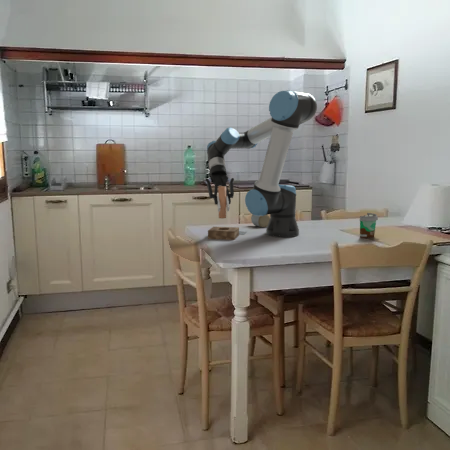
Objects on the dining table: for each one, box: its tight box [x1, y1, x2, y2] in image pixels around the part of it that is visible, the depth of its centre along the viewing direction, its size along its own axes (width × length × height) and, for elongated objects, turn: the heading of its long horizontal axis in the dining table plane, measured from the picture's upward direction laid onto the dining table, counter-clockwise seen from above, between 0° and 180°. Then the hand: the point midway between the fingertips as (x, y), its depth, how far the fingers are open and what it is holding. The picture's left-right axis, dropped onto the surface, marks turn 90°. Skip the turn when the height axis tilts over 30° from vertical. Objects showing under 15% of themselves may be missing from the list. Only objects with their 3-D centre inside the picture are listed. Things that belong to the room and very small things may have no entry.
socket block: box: [207, 226, 240, 241], centre depth 213 cm, size 12×10×4 cm
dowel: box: [218, 186, 227, 219], centre depth 211 cm, size 3×3×14 cm
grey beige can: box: [250, 214, 270, 228], centre depth 241 cm, size 11×8×8 cm
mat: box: [239, 230, 248, 236], centre depth 223 cm, size 10×8×1 cm
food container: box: [359, 212, 378, 239], centre depth 212 cm, size 12×6×10 cm, turn 148°
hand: (223, 209), depth 208 cm, fingers closed on dowel, 3 cm apart
